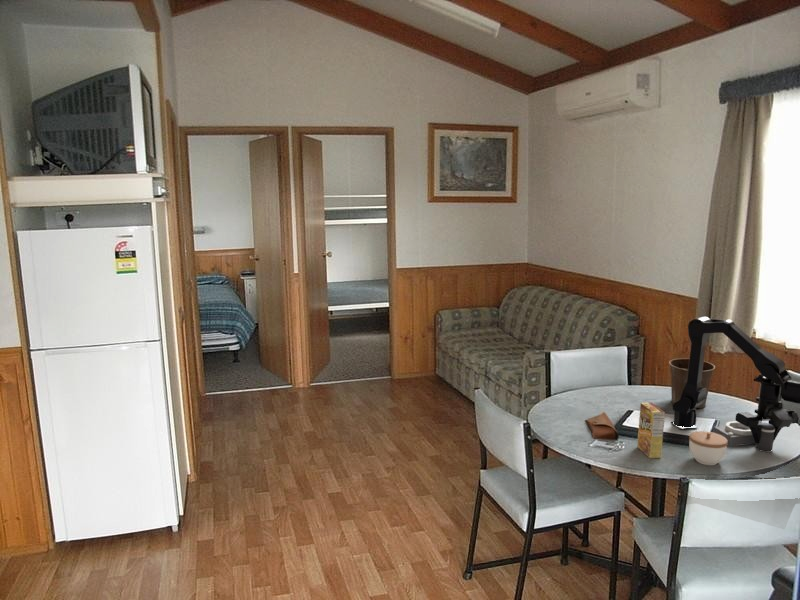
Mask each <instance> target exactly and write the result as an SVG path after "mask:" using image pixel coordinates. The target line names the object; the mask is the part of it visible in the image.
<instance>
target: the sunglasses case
mask: <svg viewBox="0 0 800 600" xmlns="http://www.w3.org/2000/svg"><path fill="white" fill-rule="evenodd" d="M584 423H586V424H587V426H588V428H589V429H590V432H591V434H592V438H593V440H609V441H610V440H613V441H614V440H615V441H617V440H619V438H620V437H619V433H618V431H617V429H616V428H615V426H614V424H613V422H612V421H611V419H610V418H609V416H608V415H607V414H606V412H605V411H603V412H602V413H601V414H598V415H596V416H592V417H590V418H587V419H585V420H584Z"/></svg>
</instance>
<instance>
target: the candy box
mask: <svg viewBox="0 0 800 600" xmlns="http://www.w3.org/2000/svg"><path fill="white" fill-rule="evenodd" d="M665 415H666V412H665V411H664V410H662V409H661V408H659V407H658V406H657V405H655V404H654V403H653V402H640V407H639V420H638V433H637V442H636V443H637V444H636V447H637V448H638V449H639V450H640V451H641V452H642V453H643V454H644V455H646V456H647V457H648V458H649V459H656V458H657V459H658V458H659V459H660V458H661V457H662V449H663V439H664V430H665V429H664V428H665V417H666V416H665Z"/></svg>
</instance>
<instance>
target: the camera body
mask: <svg viewBox="0 0 800 600" xmlns="http://www.w3.org/2000/svg"><path fill="white" fill-rule="evenodd" d="M712 432H714V433H716V434H719V435H722V436H724V437H725V438H726V439H727V440H728V444H727V445H729V446H730V447H733V446H742V445H753V444H755V445H756V442H755V440H754V437H753V435H752V432H751V430H750V428H749V427H747V426H745V425H743V424H741V423H739V422H737V421H735V420H734V421H727V422H726V423H725V425H718V426H713V431H712Z"/></svg>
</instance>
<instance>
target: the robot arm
mask: <svg viewBox="0 0 800 600" xmlns="http://www.w3.org/2000/svg"><path fill="white" fill-rule="evenodd" d="M687 331H688V332H687V333H688V334H687V335H688V338H689V341H690V349H689V350H690V351H689V358H688V359H689V367H688V375H687V382H686V384H685V386H684V388H683V390H682V393H681V396H680V400H679V401H677V402H676V403H674V404H673V403H672V404H671V406H672V409H673V411H674V414H673V421H670V424H671V423H673V422H674V424H675V425H677V426H682V427H683V426H684V427H691V426H693V425H695V426H696V424H697V415H698V414H697V409H698V408H697V407H698V405H700V404H702V403H703V402H704V400H705V399H706V391H707V388H703V386H702V384H701V380H702V372H703V364H704V361H705V353H706V345H707V342H708V341H709V339H710V337H711V334H724V335H725V336H726V337H727V338H728V339H729V340H730V341H731V342H732V343H734V345H735V346H737V347H738V348H739V349H740V350H741V351H742V352H744V354H745V355H747V356H748V357H749V358H750V360H751V361H752V363H753V365H754V367H755V368H756V369H757V371H758V372H759V373H760V374H758V376H757V377H754V378H753V379H752V380H753V381H754V382H757V383H760V385H759V394H758V397H755V401H756V402H757V408H755V409H754V413H755V415H754V414H753V413H751V412H748V411H744V412H738V413H736V414H735V418H734V419H735V420H734V421H736V422H739V423H741V424H743V425H745V426H747V427H749V428H750V430H751V432H752V435H753V437H754V440H755V442H756V443H757V444H759V441H760V435H761V430H762V429H763V428H764V426H762V425H761V424H762V423H763V422H766V421H768V423H769V424H772V425H774V426H775V431H774V439H773V443H774V441H775V440H776V438H777V436H778V435H779V433H780V432H781V430H782V429H783V428H785V427H786V428H790V427H791V425H792V424H799V421H800V420H799V419H800V417H799V415H798V412H797V411H796V410H795V409H792V410H789V409H787V408H785V409H784V405H783V402H782V401H780V398H781V399H782V400H783V401H785V402H788V403H793V404H797V405H800V381H796V380H792V376H791V375H790V374H789V372H788V370H787V369H786V364H785V363H786V362H784V360H783V359H781V358H780V357H779V356H776V355H775V354H773V353H772V352H769V351H767V350H765V349H764V348H762V347H761V346H760V345H759V344H758V343H756V341H754V340H753V339H752V338H751V337H750V336H749V335H747V334H746V333H745V332H744V331H743V330H742V329H741V328H740V327H739V326H738V325H737V324H736V323H735V321H733V320H732V319H719V318H709V317H708V316H704V315H703V316H698V317H696V318H694V319H692V320H690V321H689V322H688V324H687ZM675 425H674V426H675Z"/></svg>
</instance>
